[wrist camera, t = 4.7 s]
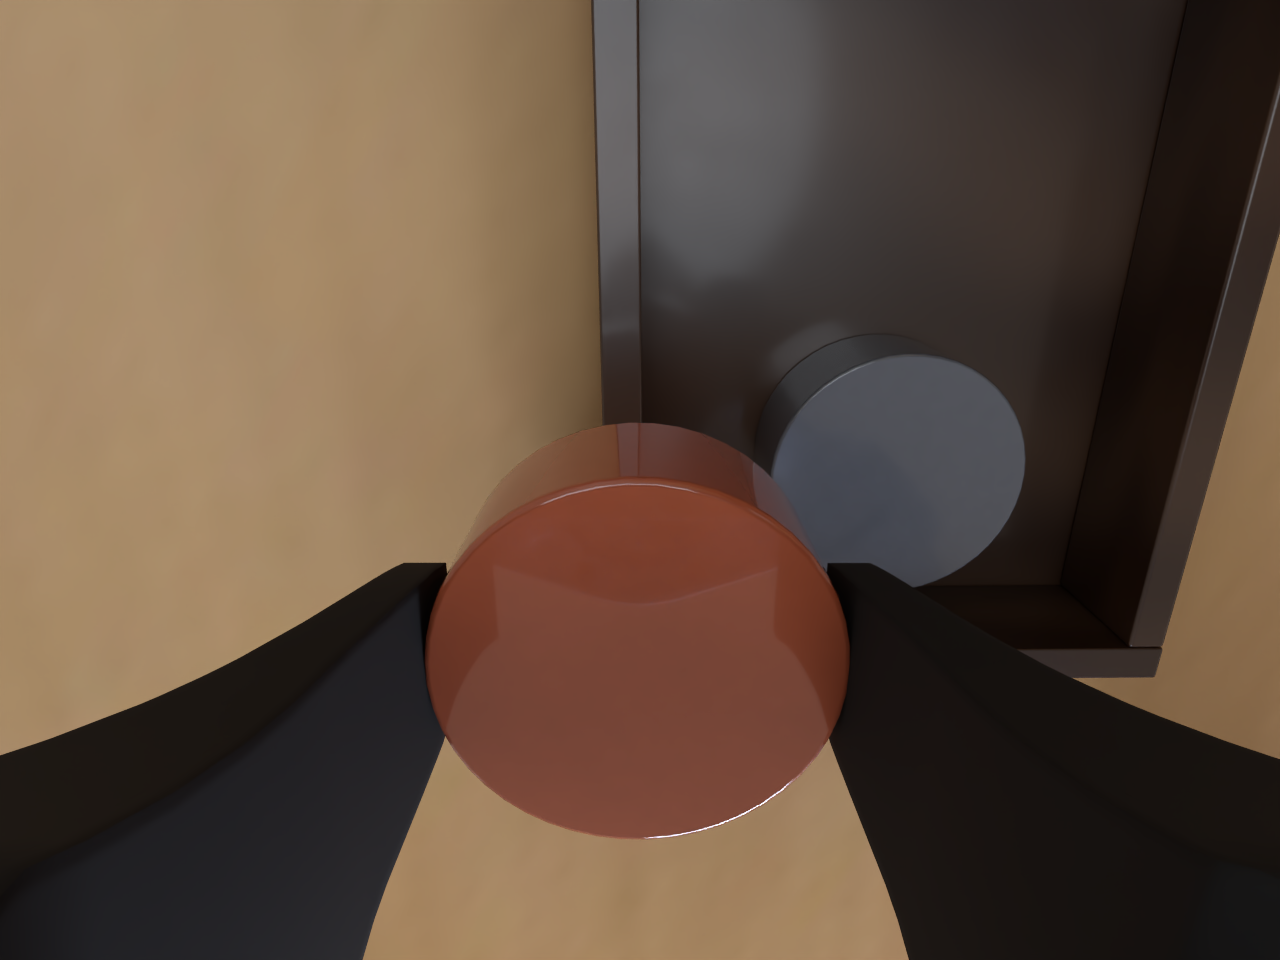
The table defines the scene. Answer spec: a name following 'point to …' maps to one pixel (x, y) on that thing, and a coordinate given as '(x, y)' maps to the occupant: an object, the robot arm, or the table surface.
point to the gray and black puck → (893, 455)
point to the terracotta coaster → (637, 636)
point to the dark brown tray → (958, 252)
